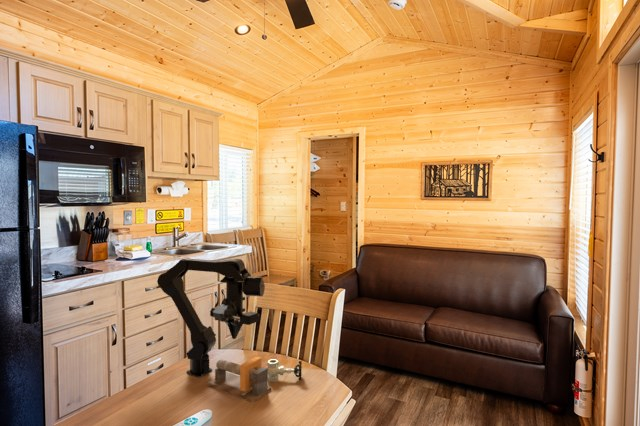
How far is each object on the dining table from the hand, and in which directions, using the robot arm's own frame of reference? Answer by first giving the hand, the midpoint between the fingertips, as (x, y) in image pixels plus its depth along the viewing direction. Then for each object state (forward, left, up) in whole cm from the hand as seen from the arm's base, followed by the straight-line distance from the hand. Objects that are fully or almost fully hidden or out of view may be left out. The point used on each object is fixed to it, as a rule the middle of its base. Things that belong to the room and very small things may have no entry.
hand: (234, 338), depth 134 cm
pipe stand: (+8, -6, -13) cm, 16 cm away
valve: (+17, +7, -13) cm, 23 cm away
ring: (+13, -6, -11) cm, 18 cm away
